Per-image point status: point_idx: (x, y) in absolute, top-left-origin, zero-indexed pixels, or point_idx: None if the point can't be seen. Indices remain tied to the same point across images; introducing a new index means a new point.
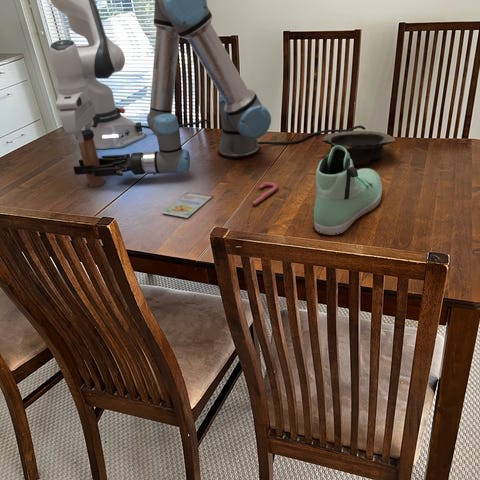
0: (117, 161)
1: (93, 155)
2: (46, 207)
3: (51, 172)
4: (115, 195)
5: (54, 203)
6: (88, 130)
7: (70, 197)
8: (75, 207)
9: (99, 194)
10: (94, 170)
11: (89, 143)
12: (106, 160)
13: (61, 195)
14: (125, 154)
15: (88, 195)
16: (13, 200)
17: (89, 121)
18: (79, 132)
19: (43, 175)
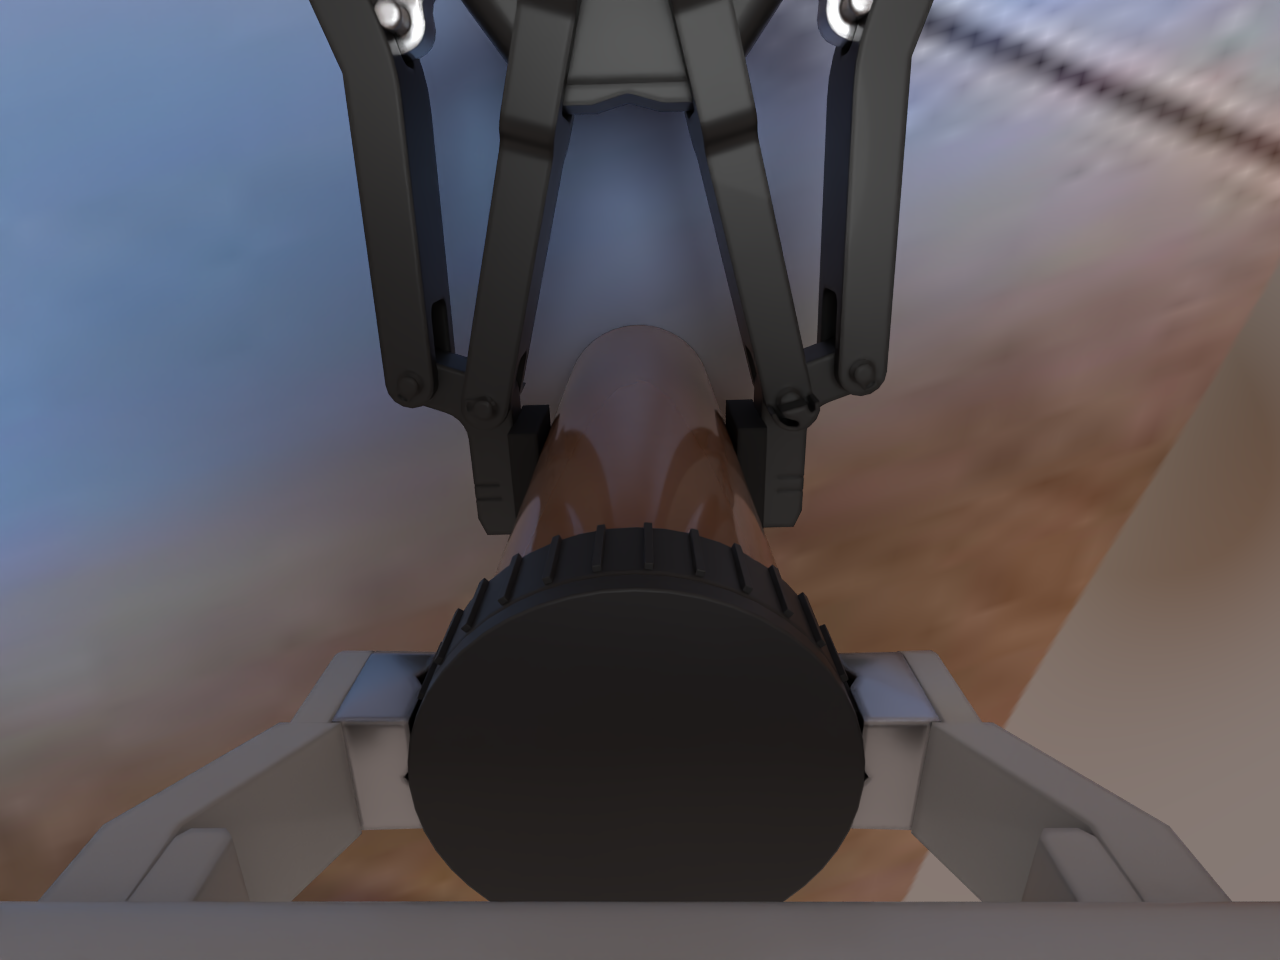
0: (599, 100)
1: (715, 444)
2: (1038, 656)
3: (383, 832)
4: (958, 101)
5: (981, 623)
6: (472, 733)
7: (897, 538)
8: (1115, 433)
9: (893, 291)
10: (883, 362)
11: (756, 549)
12: (528, 304)
13: (840, 621)
14: (327, 26)
15: (892, 394)
16: (855, 893)
17: (171, 900)
18: (1175, 872)
19: (441, 863)
